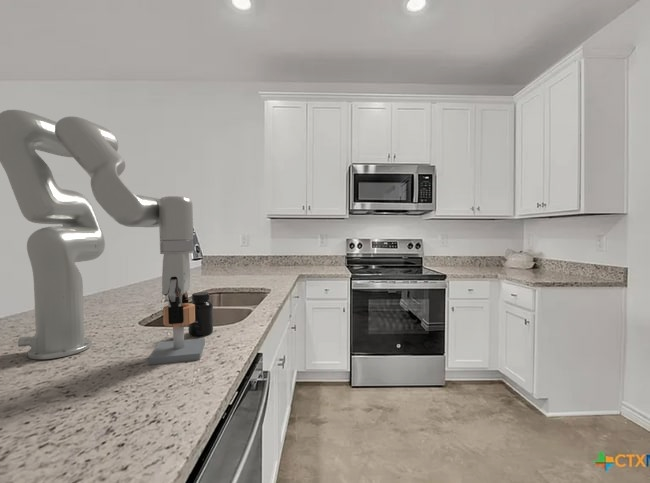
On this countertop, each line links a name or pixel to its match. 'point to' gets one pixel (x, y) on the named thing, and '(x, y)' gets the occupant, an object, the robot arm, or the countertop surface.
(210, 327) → the supplement bottle
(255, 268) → the countertop surface
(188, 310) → the ring
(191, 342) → the post block
